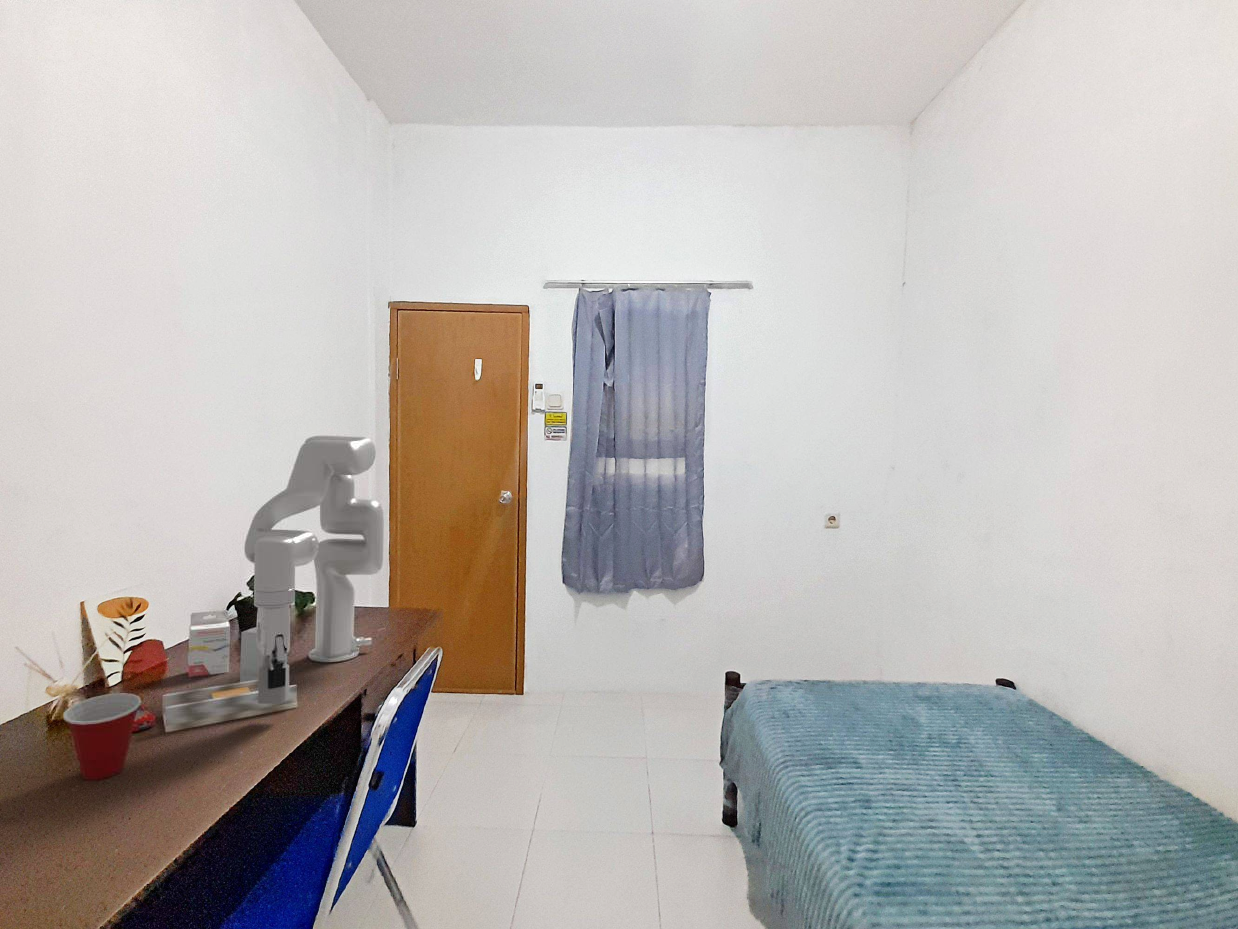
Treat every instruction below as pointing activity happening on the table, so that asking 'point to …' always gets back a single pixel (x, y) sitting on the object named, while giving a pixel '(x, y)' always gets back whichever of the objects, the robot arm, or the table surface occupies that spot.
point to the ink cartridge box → (209, 643)
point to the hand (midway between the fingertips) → (273, 681)
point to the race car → (143, 719)
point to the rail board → (217, 705)
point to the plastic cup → (102, 732)
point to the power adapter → (276, 693)
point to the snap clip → (230, 692)
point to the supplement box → (250, 656)
